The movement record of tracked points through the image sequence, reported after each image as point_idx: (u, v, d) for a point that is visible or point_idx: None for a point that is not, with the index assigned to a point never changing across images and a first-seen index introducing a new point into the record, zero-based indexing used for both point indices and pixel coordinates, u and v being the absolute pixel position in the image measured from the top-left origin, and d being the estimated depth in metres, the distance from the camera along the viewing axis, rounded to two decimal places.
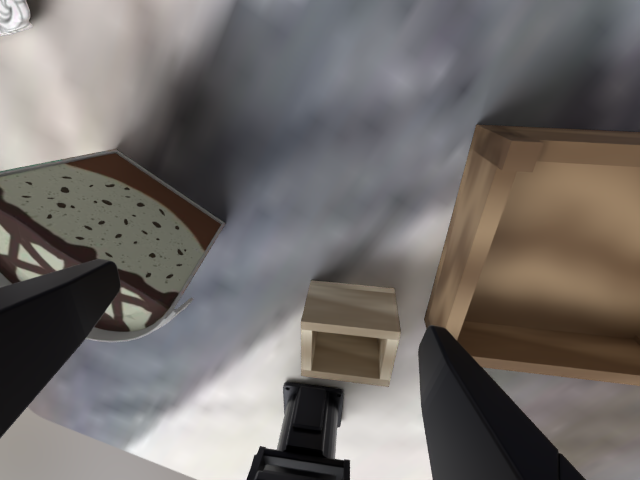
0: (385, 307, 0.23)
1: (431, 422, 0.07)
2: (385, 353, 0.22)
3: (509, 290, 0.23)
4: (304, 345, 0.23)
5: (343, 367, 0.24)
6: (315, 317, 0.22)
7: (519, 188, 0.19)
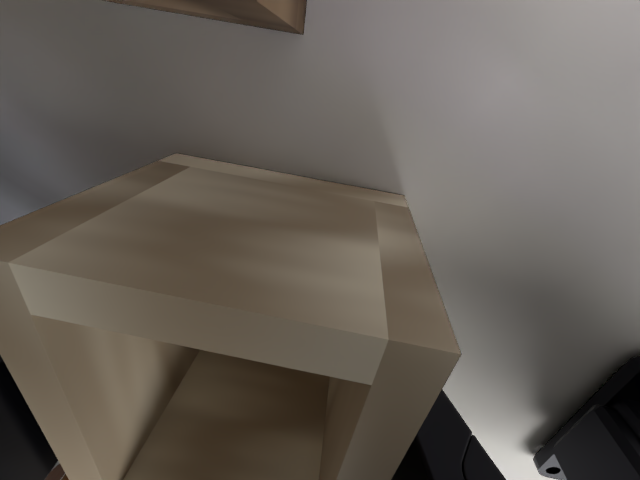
0: None
1: None
2: (146, 332, 0.04)
3: None
4: None
5: (335, 448, 0.06)
6: None
7: None
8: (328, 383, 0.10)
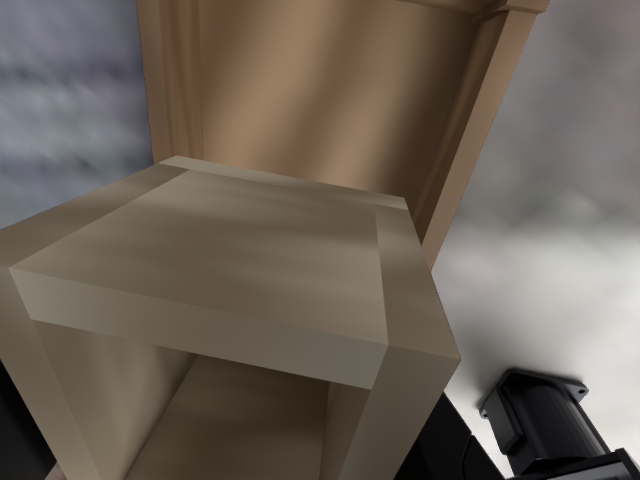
0: None
1: None
2: (146, 337, 0.04)
3: None
4: None
5: (335, 451, 0.06)
6: None
7: None
8: (328, 385, 0.10)
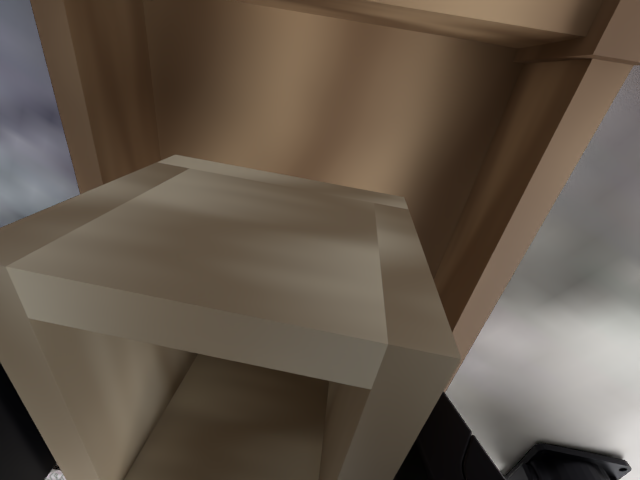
0: None
1: None
2: (144, 336, 0.04)
3: None
4: None
5: (334, 451, 0.06)
6: None
7: None
8: (328, 385, 0.10)
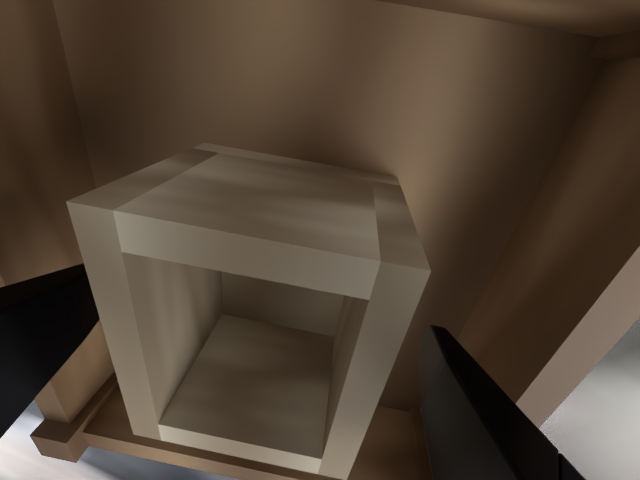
0: None
1: (431, 422, 0.07)
2: (206, 264, 0.05)
3: None
4: (216, 447, 0.08)
5: (341, 374, 0.07)
6: None
7: None
8: (333, 343, 0.11)
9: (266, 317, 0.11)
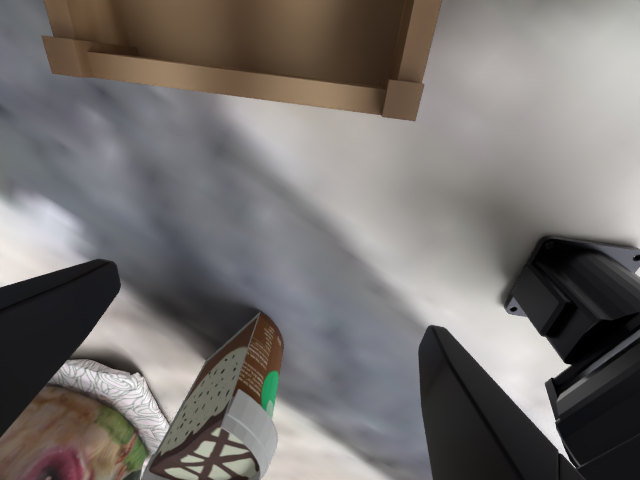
0: None
1: (431, 422, 0.07)
2: None
3: None
4: None
5: None
6: None
7: (171, 7, 0.15)
8: None
9: None
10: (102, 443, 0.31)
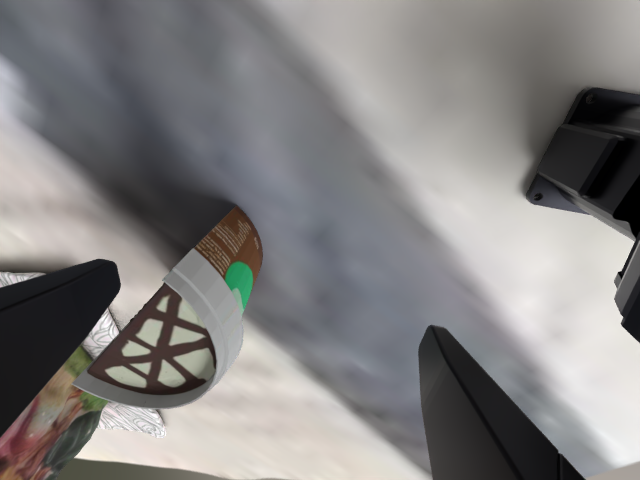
0: None
1: (431, 422, 0.07)
2: None
3: None
4: None
5: None
6: None
7: None
8: None
9: None
10: None
